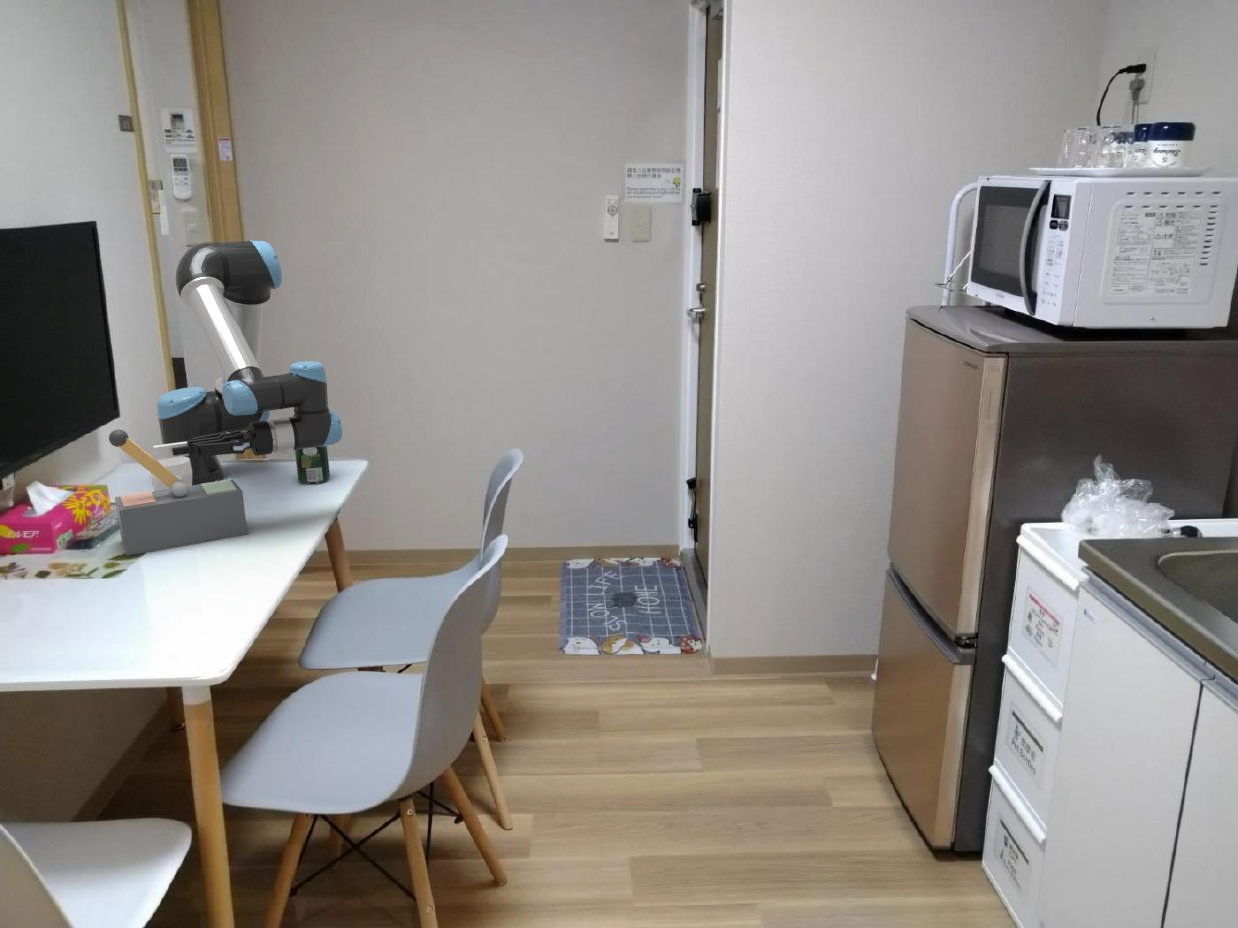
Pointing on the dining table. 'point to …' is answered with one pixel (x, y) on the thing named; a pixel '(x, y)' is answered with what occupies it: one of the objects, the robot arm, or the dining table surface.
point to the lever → (148, 462)
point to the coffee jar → (312, 464)
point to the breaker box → (180, 517)
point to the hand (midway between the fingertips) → (154, 452)
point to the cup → (174, 471)
